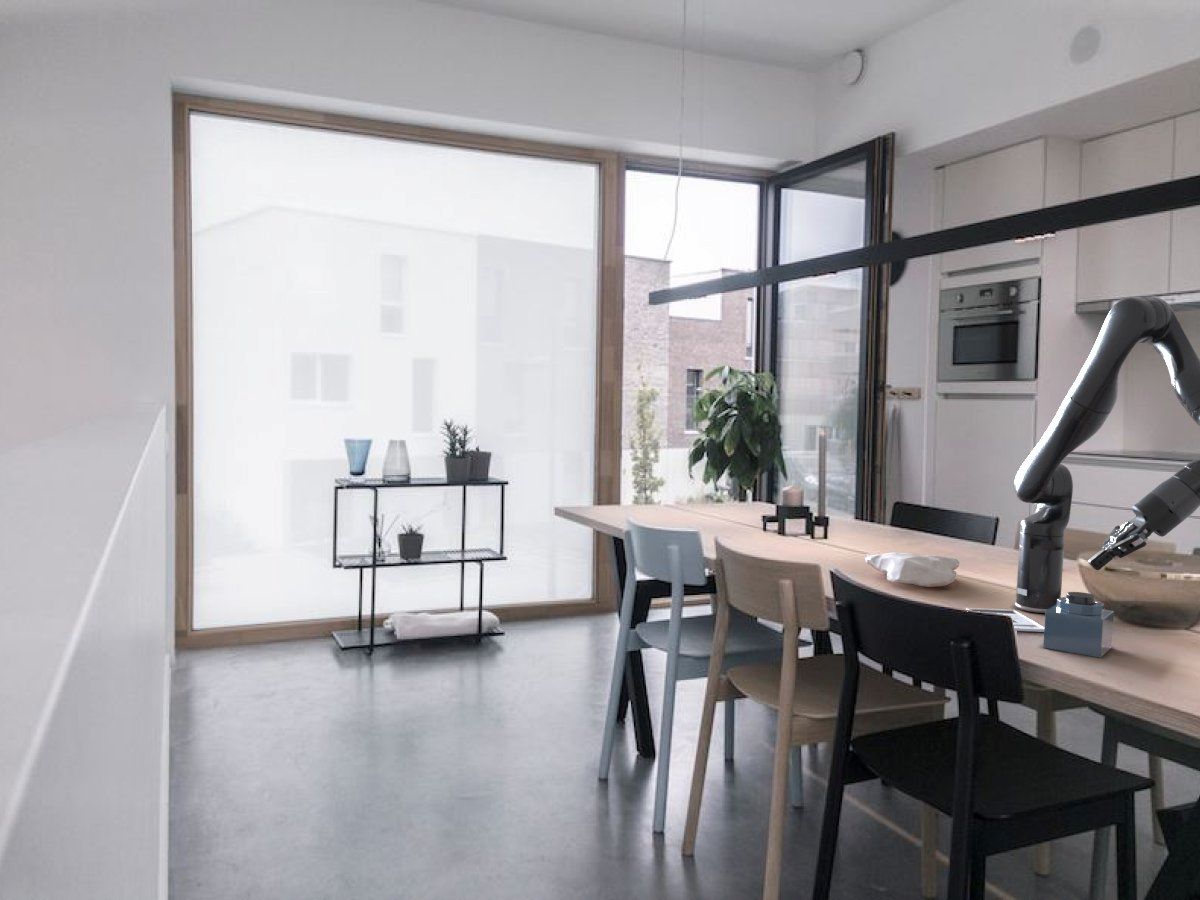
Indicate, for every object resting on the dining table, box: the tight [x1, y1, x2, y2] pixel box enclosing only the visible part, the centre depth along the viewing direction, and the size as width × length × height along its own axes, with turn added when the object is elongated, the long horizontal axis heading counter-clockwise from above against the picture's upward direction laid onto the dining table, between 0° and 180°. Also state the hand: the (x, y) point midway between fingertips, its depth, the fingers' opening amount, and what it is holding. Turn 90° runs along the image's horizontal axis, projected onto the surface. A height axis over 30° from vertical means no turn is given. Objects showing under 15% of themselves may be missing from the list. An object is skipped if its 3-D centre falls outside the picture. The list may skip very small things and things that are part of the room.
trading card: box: [965, 607, 1045, 633], centre depth 211 cm, size 11×1×18 cm
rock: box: [864, 551, 960, 588], centre depth 257 cm, size 8×23×30 cm
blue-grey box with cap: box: [1042, 596, 1115, 658], centre depth 191 cm, size 10×10×9 cm
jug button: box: [1065, 591, 1096, 605], centre depth 190 cm, size 5×5×2 cm
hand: (1092, 566), depth 189 cm, fingers closed
